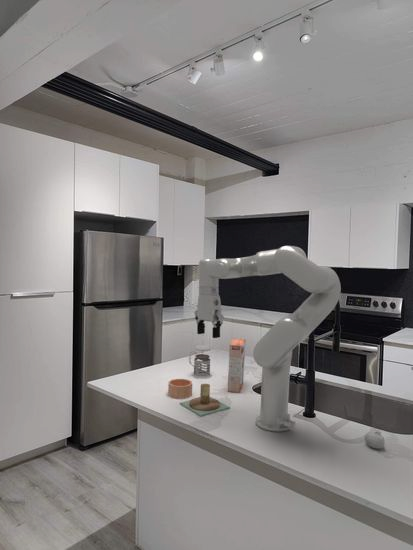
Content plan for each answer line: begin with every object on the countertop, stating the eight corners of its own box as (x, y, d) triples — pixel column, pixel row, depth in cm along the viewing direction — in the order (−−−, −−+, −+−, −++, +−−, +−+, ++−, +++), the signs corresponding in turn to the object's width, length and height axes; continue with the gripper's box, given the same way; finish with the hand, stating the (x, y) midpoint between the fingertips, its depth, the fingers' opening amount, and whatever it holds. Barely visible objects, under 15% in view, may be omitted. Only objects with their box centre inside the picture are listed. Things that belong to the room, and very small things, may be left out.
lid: (226, 406, 148) (227, 386, 148) (201, 413, 141) (201, 392, 141) (207, 397, 158) (208, 378, 158) (183, 403, 151) (183, 383, 150)
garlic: (387, 447, 121) (388, 431, 121) (381, 453, 117) (382, 436, 117) (367, 440, 125) (368, 425, 125) (361, 446, 121) (362, 430, 121)
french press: (215, 377, 185) (216, 326, 184) (192, 379, 181) (193, 327, 180) (207, 371, 194) (209, 322, 193) (185, 373, 190) (187, 323, 189)
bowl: (196, 395, 161) (196, 383, 161) (176, 400, 155) (176, 388, 155) (183, 388, 169) (183, 377, 168) (163, 392, 163) (164, 381, 163)
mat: (229, 408, 148) (229, 406, 148) (200, 416, 140) (200, 415, 140) (208, 397, 159) (208, 395, 159) (179, 404, 151) (179, 402, 151)
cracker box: (240, 393, 165) (242, 345, 164) (227, 392, 166) (228, 344, 165) (244, 383, 179) (246, 338, 178) (231, 381, 180) (233, 337, 179)
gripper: (230, 292, 143) (230, 338, 143) (203, 289, 156) (203, 331, 157) (214, 293, 138) (214, 340, 139) (187, 290, 152) (187, 333, 153)
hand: (208, 335), depth 148 cm, fingers open, 9 cm apart
